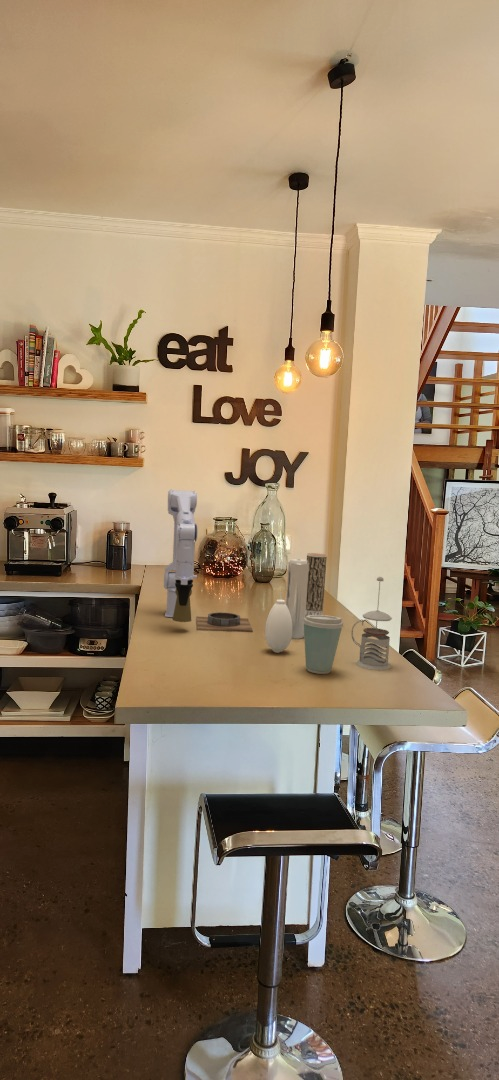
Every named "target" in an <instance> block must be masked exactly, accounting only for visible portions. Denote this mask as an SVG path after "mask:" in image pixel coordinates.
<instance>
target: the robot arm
mask: <svg viewBox="0 0 499 1080" xmlns="http://www.w3.org/2000/svg"><path fill="white" fill-rule="evenodd" d="M167 492H168V493H167V513H168V514H169V515H171V516H172V518H173V525H174V526H173V551H172V552H173V554H172V562H171V563H169V564H168V565H166V566H165V568H164V573H163V588H164V589H165V590H167V591H166V592H167V593H166V595H167V596H166V610H165V613H164V617H165V618H173V614H174V609H175V604H176V599H177V595H176V592H175V591H176V588H177V591H178V597H179V604H180V605H181V606H186V605H187V601H188V597H189V593H190V590H191V589H192V590H193V586H194V583H193V582H194V579H197V578H198V575H197V574H194V573H195V571H194V570H195V555H196V553H195V551H196V542H197V540H198V533H199V532H198V524H197V523H196V522H195V517H194V515H195V513H196V509H197V503H198V492H197V491H196V490H180V489H179V490H177V489H176V490H175V489H173V490H172V489H169V490H168V491H167Z"/></svg>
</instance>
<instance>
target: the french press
mask: <svg viewBox="0 0 499 1080" xmlns="http://www.w3.org/2000/svg"><path fill="white" fill-rule="evenodd" d="M376 581H377V582H379V584H378V585H379V586H378V593H381V592H380V590H381V582H384V577H383V576H377V578H376ZM379 600H380V594H378V599H377V606H380V605H379V604H380V601H379ZM362 617H363V618H364V619H366V620H370V621H375V622H376V624H375V627H366V628H363V629H362V630H363V632H364V633H362V634H361V644H360V643H358V642H357V640H355V638H354V628H355V626H356V625H357V624H359V623H361V622H362V623H361V626H364V620H363V619H359V620H357V621H355V623H354V624H353V626H352V628H351V639H352V641H353V643H354V644H355V645H356V646H358V647H359V648H360V649H359V659H358V660H357V661H356V662H355V664H356V666H358V667H360V668H363V667H364V668H363V669H368V670H375V671H382V670H383V671H385V670H389V669H391V668H392V665H390V662H389V655H390V654H389V653H390V652H389V650H390V640H391V639H390V638H391V637H390V636H388V635H389V633H390V631H389V630H387V629H382V628H377V627H378V622H390V621H391V620H392V619H393V618H392V616H390V615H389V614H388V613H386V612H384V611H380V610H379V607H377V610H370V611H367V612H365V613H364V614H362ZM372 637H373V638H372ZM375 638H376V639H375Z"/></svg>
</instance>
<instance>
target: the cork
mask: <svg viewBox="0 0 499 1080" xmlns="http://www.w3.org/2000/svg"><path fill="white" fill-rule="evenodd" d="M175 592H176V595H177V599H176V604H175V609H174V614H173V617H172V621H174V622H179V623H189V622H190V623H191V622H192V611H191V610H192V609H191V608H192V607H191V595H192V594H193V593H192V592H193V588H192V589H191V590H190V593H189V597H188V601H187V605H186V606H181V605H180V604H179V597H178V591H177V588H176V591H175Z"/></svg>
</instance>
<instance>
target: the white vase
mask: <svg viewBox="0 0 499 1080" xmlns="http://www.w3.org/2000/svg"><path fill="white" fill-rule="evenodd" d="M282 593H283V591H280V595H279V599H276V600H275V603H274V605H272V607H271V609H270V611H269V613H268V616H267V618H266V622H265V628H264V636H265V641H266V644H267V646H268V648H270V650H271V651H273V652H274V653H277V654H279V653H282V652H284V650H287V648H288V647H289V645H290V643H291V641H292V639H291V638H292V619H291V615H290V612H289V609H288V607H287V606H286V599H285V600H284V599H283V598H282V597H283V596H282V595H283V594H282Z"/></svg>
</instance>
